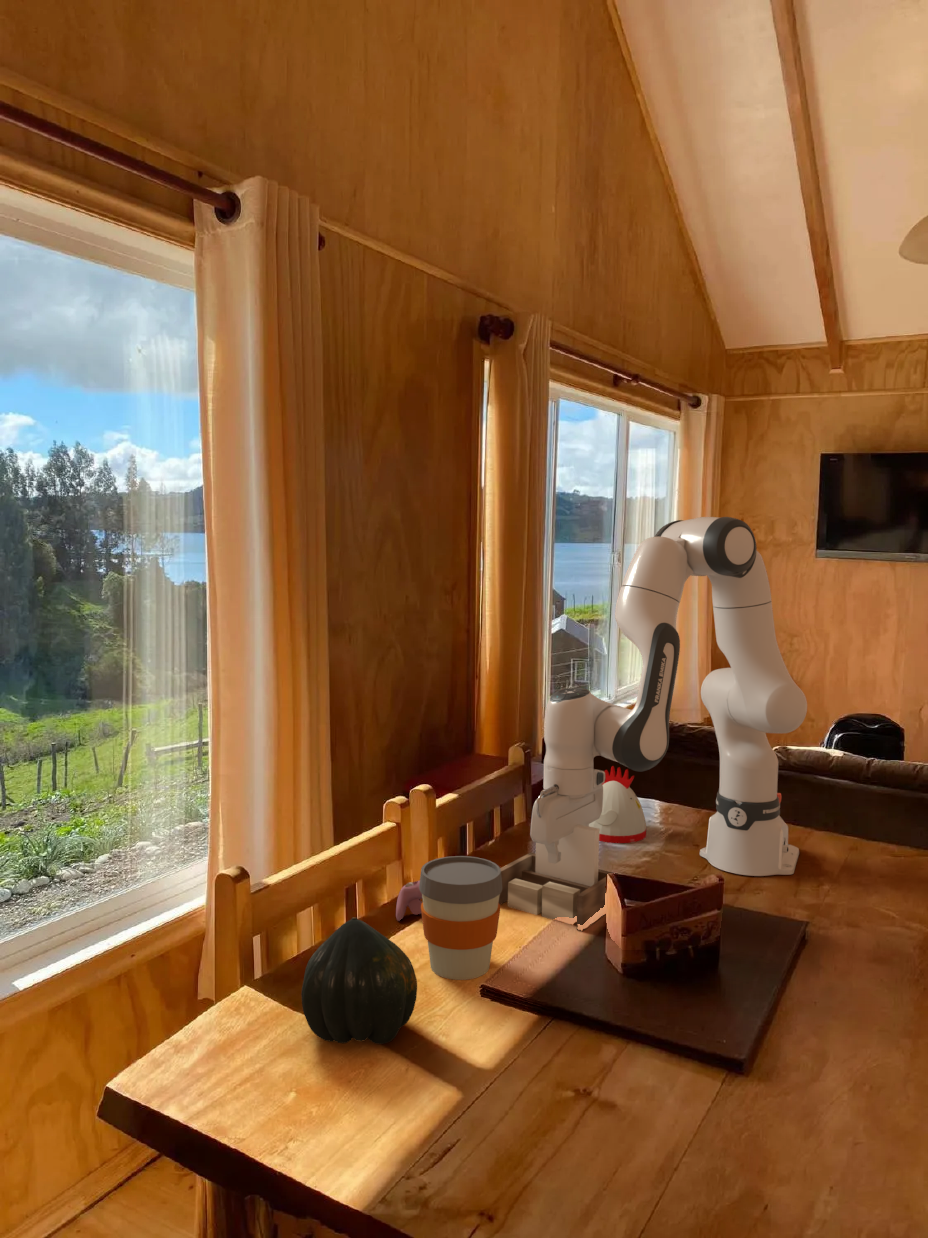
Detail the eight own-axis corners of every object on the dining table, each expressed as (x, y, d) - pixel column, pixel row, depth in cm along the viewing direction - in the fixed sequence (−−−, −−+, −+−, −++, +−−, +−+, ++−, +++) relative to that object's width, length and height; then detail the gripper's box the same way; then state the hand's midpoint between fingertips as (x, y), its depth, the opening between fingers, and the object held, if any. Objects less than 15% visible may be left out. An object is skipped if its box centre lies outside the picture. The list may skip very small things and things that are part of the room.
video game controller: (454, 925, 158) (456, 883, 160) (451, 923, 154) (454, 880, 156) (397, 922, 159) (400, 880, 161) (393, 920, 155) (396, 877, 157)
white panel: (539, 890, 170) (540, 816, 169) (597, 905, 163) (599, 828, 162) (534, 892, 168) (536, 818, 167) (593, 908, 162) (595, 831, 160)
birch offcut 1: (514, 902, 164) (515, 878, 164) (543, 911, 160) (544, 886, 160) (507, 907, 162) (508, 882, 162) (536, 915, 158) (537, 890, 158)
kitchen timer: (630, 847, 194) (632, 778, 193) (572, 835, 201) (573, 768, 200) (655, 830, 205) (657, 764, 204) (598, 820, 213) (600, 756, 212)
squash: (376, 1040, 108) (407, 916, 117) (266, 1021, 114) (304, 903, 122) (414, 1069, 119) (440, 953, 128) (312, 1050, 124) (344, 940, 133)
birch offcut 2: (548, 912, 160) (549, 881, 159) (579, 921, 156) (580, 889, 156) (541, 916, 158) (542, 885, 157) (572, 925, 154) (573, 894, 154)
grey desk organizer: (530, 883, 173) (530, 852, 172) (617, 906, 162) (618, 873, 162) (491, 905, 162) (492, 872, 162) (582, 931, 152) (582, 896, 151)
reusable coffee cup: (513, 957, 142) (515, 863, 141) (481, 993, 131) (482, 891, 130) (441, 941, 148) (442, 850, 146) (403, 974, 136) (404, 876, 135)
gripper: (554, 795, 153) (552, 876, 155) (609, 771, 170) (608, 844, 171) (522, 789, 157) (521, 868, 158) (579, 766, 174) (578, 837, 175)
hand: (566, 855), depth 165 cm, fingers open, 7 cm apart
